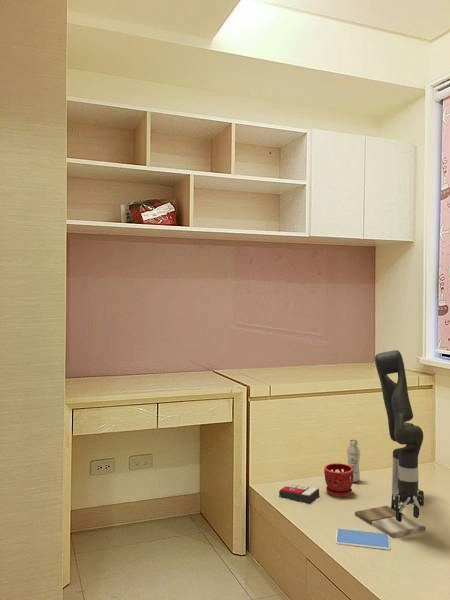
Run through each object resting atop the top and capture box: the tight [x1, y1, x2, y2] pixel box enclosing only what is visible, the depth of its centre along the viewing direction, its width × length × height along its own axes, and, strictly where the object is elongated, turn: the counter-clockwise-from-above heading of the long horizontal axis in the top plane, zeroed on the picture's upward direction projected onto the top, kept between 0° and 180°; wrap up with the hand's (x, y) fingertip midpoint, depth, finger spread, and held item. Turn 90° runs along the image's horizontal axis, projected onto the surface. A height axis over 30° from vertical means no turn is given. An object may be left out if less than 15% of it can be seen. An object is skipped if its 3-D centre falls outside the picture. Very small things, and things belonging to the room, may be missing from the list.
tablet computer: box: [335, 528, 391, 551], centre depth 199 cm, size 19×13×1 cm, turn 76°
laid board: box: [354, 505, 405, 526], centre depth 220 cm, size 17×10×2 cm, turn 114°
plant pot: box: [323, 462, 354, 497], centre depth 245 cm, size 13×13×12 cm
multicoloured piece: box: [278, 482, 320, 505], centre depth 241 cm, size 11×4×15 cm
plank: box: [371, 514, 427, 539], centre depth 209 cm, size 16×12×2 cm
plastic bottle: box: [346, 439, 361, 483], centre depth 261 cm, size 6×7×20 cm
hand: (407, 519), depth 206 cm, fingers open, 8 cm apart
